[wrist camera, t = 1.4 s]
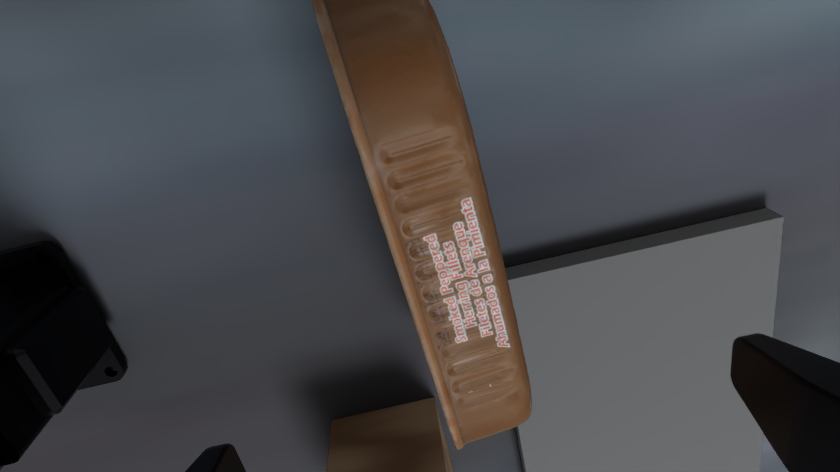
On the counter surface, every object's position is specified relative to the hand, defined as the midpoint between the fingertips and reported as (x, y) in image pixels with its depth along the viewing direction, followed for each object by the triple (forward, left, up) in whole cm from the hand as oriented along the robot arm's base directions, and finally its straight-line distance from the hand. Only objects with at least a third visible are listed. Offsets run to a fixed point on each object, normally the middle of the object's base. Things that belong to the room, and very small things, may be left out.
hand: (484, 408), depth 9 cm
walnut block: (-4, -13, -12) cm, 18 cm away
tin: (0, 0, -12) cm, 12 cm away
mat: (+8, -14, -12) cm, 20 cm away
